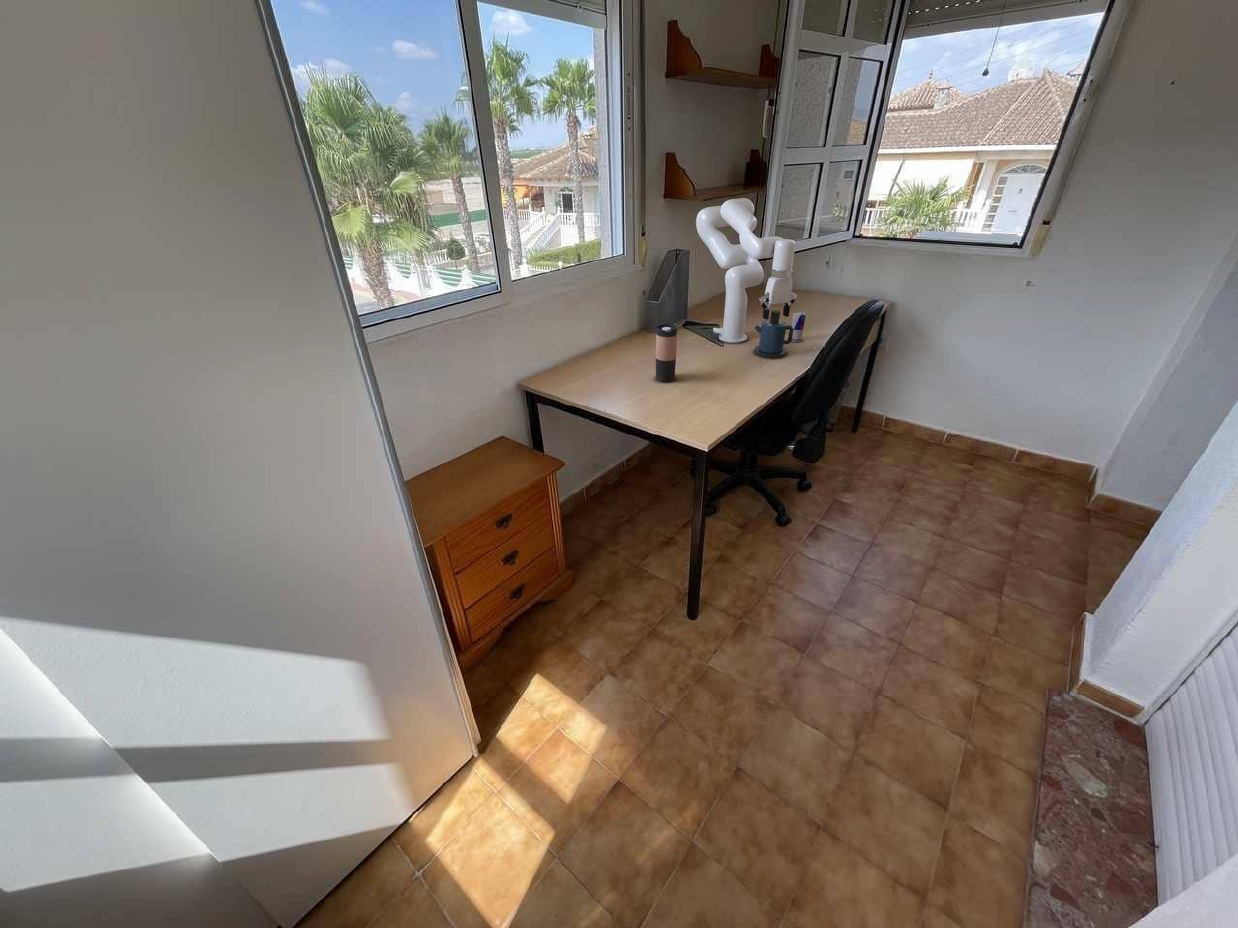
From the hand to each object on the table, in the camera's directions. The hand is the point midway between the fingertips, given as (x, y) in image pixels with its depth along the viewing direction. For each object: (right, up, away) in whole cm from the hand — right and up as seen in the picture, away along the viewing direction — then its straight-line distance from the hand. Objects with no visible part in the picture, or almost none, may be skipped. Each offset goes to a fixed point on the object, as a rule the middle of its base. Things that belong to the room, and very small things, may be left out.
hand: (775, 317), depth 213 cm
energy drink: (+15, -4, +22) cm, 27 cm away
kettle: (0, -11, +7) cm, 13 cm away
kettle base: (0, -13, +8) cm, 15 cm away
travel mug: (-46, -27, -13) cm, 55 cm away
